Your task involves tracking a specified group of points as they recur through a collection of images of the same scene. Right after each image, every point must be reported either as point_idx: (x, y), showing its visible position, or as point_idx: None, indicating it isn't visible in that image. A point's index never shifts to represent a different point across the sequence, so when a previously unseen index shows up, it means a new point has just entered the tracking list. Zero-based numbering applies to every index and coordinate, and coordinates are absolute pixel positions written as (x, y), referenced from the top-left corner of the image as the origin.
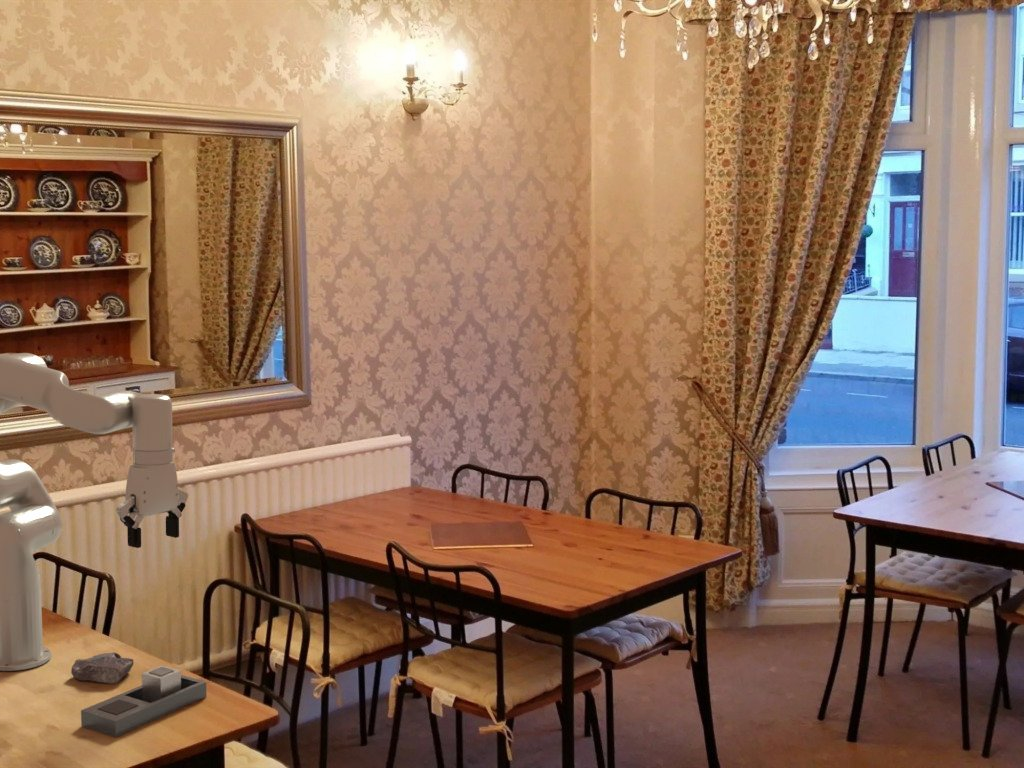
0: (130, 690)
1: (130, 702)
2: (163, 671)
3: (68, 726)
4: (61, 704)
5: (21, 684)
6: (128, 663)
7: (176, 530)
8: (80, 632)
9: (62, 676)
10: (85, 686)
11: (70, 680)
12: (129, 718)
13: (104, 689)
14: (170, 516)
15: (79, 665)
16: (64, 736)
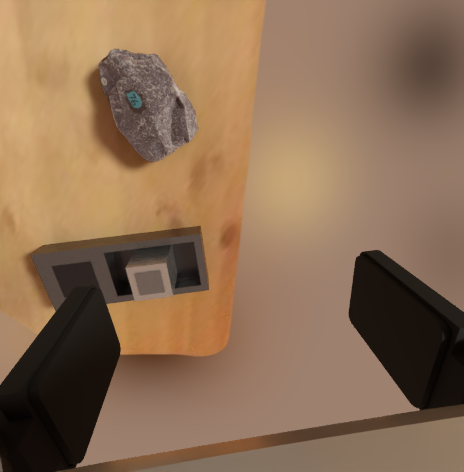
0: (118, 245)
1: (98, 277)
2: (150, 287)
3: (28, 233)
4: (48, 158)
5: (18, 5)
6: (177, 146)
7: (372, 345)
8: None
9: (99, 37)
10: (109, 120)
11: None
12: None
13: (126, 157)
14: (451, 377)
15: (109, 76)
16: (13, 255)
